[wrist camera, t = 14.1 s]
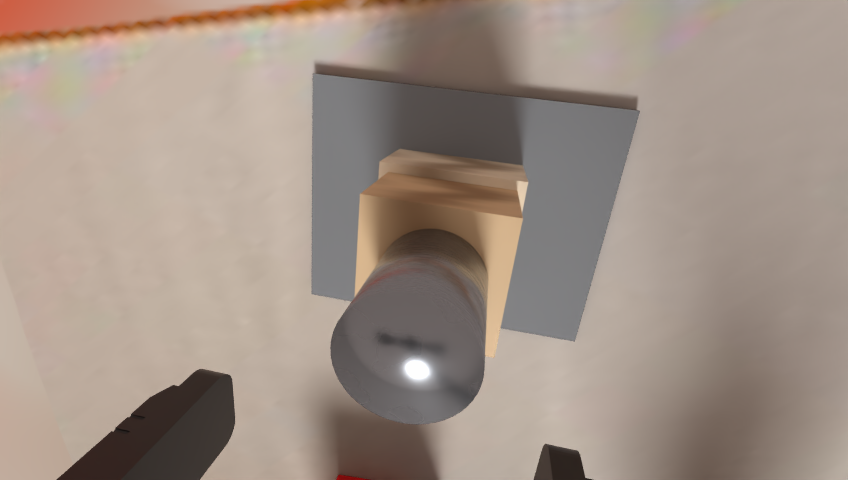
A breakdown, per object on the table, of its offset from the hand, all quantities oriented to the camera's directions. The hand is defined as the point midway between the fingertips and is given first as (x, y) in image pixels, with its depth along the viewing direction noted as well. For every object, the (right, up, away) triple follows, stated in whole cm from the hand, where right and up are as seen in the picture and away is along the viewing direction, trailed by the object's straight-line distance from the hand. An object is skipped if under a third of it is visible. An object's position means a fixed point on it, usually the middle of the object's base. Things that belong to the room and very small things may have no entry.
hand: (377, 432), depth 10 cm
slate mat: (+3, +7, +18) cm, 20 cm away
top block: (+2, +5, +13) cm, 14 cm away
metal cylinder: (+2, +3, +8) cm, 9 cm away
